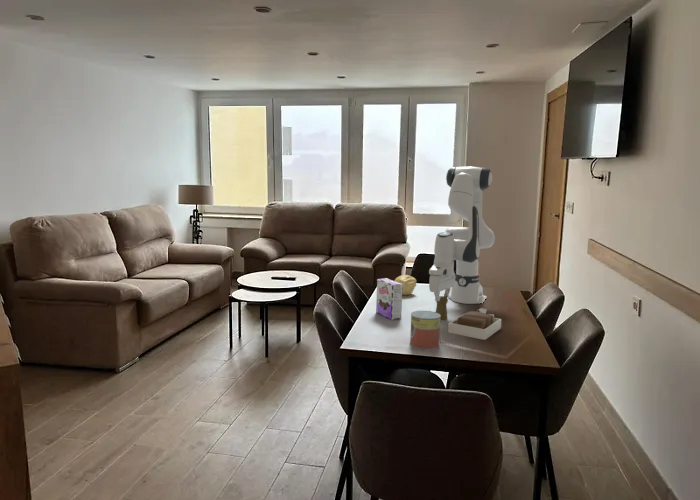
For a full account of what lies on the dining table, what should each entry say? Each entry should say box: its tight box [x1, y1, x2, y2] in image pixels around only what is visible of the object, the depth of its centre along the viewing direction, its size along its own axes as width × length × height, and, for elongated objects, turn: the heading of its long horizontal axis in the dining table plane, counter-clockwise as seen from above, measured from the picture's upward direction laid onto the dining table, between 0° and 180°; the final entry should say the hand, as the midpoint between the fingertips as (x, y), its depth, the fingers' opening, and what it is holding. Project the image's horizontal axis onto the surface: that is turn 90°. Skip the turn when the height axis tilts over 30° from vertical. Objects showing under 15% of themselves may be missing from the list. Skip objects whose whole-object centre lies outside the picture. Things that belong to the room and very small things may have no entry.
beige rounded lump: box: [394, 274, 417, 296], centre depth 276 cm, size 11×12×11 cm
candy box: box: [375, 277, 403, 321], centre depth 232 cm, size 14×6×16 cm, turn 27°
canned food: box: [409, 310, 441, 351], centre depth 193 cm, size 11×11×12 cm
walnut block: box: [457, 310, 494, 329], centre depth 210 cm, size 14×10×6 cm
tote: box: [447, 312, 502, 341], centre depth 210 cm, size 20×16×5 cm
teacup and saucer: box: [476, 307, 495, 318], centre depth 234 cm, size 9×8×4 cm
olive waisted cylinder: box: [435, 295, 449, 321], centre depth 227 cm, size 6×6×11 cm
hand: (441, 299), depth 225 cm, fingers open, 8 cm apart
